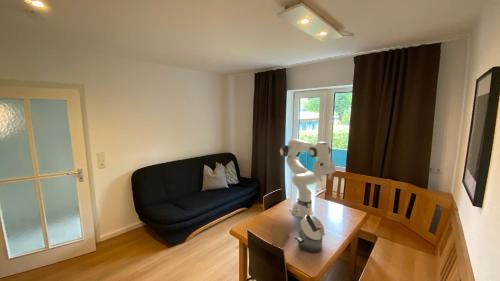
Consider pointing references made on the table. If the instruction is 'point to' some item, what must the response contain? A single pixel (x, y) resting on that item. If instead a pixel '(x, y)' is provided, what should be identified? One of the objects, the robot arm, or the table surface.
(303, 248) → the cooker pot
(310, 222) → the lid
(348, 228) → the table surface
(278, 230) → the sandwich container
